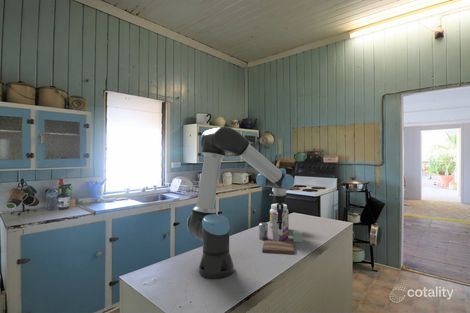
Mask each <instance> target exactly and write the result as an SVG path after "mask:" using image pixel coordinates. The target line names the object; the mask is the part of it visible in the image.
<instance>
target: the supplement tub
mask: <svg viewBox="0 0 470 313" xmlns="http://www.w3.org/2000/svg"><path fill="white" fill-rule="evenodd" d="M277 204H278V203H272V204H271V205H270V209H269V229H270V231H272V232H273V225H272V213H275V212H277ZM282 204H283V210H286V211H288V212H289V210H288V205H287V204H286V203H282ZM289 226H290V225H289V218H288V230H289V229H290V228H289Z"/></svg>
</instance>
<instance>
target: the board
mask: <svg viewBox="0 0 470 313" xmlns="http://www.w3.org/2000/svg"><path fill="white" fill-rule="evenodd" d="M261 249H262V251H261V252H262V253H269V254H284V255H286V254H289V255H294V254H295V250H294V249H295V248H294V241H289V240H288V241H287V240H286V241H285V240H283V241H273V240H269V239H267V240H263V244H262V248H261Z"/></svg>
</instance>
